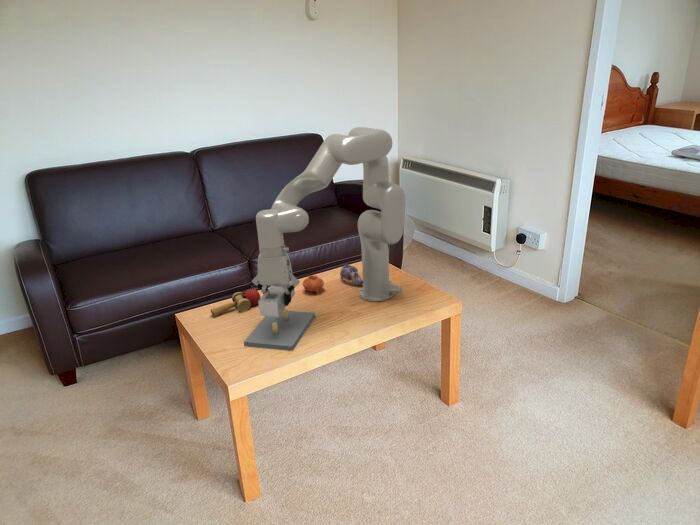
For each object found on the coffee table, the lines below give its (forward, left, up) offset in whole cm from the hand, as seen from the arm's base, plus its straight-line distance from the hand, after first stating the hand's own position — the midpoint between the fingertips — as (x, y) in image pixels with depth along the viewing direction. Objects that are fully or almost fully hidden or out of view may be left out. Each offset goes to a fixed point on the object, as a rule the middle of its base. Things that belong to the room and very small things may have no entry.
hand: (277, 302), depth 165 cm
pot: (-1, -30, -10) cm, 32 cm away
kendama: (+21, -12, -11) cm, 27 cm away
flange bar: (0, 0, -1) cm, 1 cm away
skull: (-14, -40, -10) cm, 44 cm away
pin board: (0, 0, -10) cm, 10 cm away
